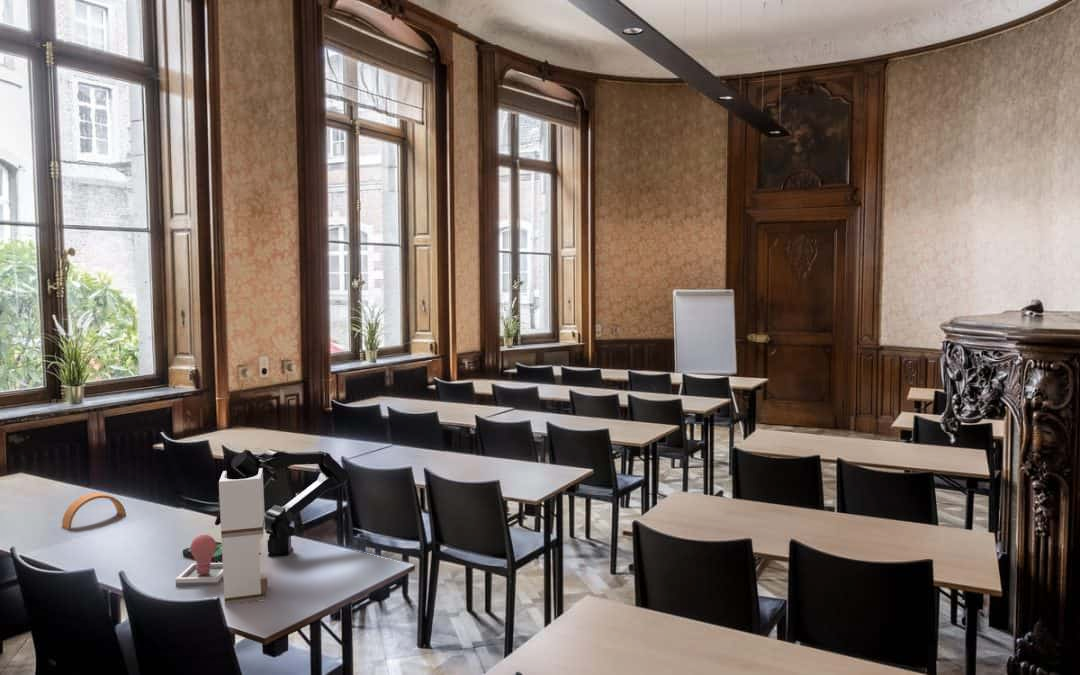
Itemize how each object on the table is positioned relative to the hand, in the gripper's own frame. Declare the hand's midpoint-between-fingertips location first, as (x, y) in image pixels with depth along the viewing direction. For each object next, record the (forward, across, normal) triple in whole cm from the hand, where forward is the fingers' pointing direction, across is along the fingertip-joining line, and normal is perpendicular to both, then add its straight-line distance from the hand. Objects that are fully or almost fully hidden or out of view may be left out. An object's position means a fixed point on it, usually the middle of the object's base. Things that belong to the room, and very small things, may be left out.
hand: (223, 527), depth 237 cm
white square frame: (+14, 0, +5) cm, 15 cm away
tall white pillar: (+13, +21, +6) cm, 26 cm away
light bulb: (+14, 0, +4) cm, 14 cm away
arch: (+15, -83, +5) cm, 85 cm away
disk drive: (+7, -16, +13) cm, 22 cm away
